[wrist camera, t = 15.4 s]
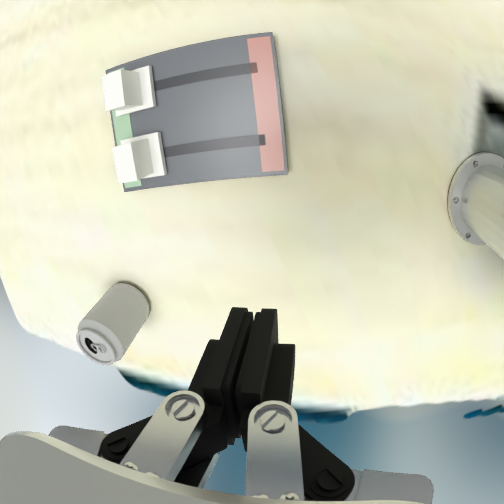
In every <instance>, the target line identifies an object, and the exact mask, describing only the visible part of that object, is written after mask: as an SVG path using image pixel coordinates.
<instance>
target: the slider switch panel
mask: <svg viewBox="0 0 504 504" xmlns="http://www.w3.org/2000/svg"><path fill="white" fill-rule="evenodd" d="M148 65H149V66H152V73H153V82H154V90H155V98H156V106H157V107H153V108H149V109H145V110H141V111H137V112H133V113H129V114H126V115H122V116H116V111H110V113H111V120H112V127H113V133H114V139H115V145H116V146H119V145H121V142H120V141H121V140H125V139H129V138H133V137H138V136H142V135H147V134H151V133H156V132H161V138H162V145H163V151H164V157H165V163H166V169H167V174H166V175H162V176H156V177H149V178H143V179H140V180H138V181H132V182H126V183H123V188H124V192H128V191H135V190H142V189H149V188H156V187H163V186H171V185H179V184H187V183H196V182H205V181H214V180H224V179H235V178H247V177H260V176H274V175H288V165H287V154H286V143H285V132H284V122H283V112H282V102H281V93H280V84H279V76H278V67H277V59H276V51H275V44H274V36H273V33H272V32H267V33H258V34H250V35H242V36H235V37H229V38H223V39H217V40H212V41H207V42H202V43H197V44H192V45H188V46H184V47H179V48H175V49H171V50H168V51H164V52H160V53H157V54H153V55H150V56H146V57H143V58H140V59H137V60H134V61H131V62H128V63H125V64H122V65H119V66H116V67H113V68H111V69H108V70H106V74H109V73H112V72H115V71H117V70H120V69H122V70H128V71H132V70H135V69H138V68H141V67H145V66H148Z"/></svg>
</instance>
